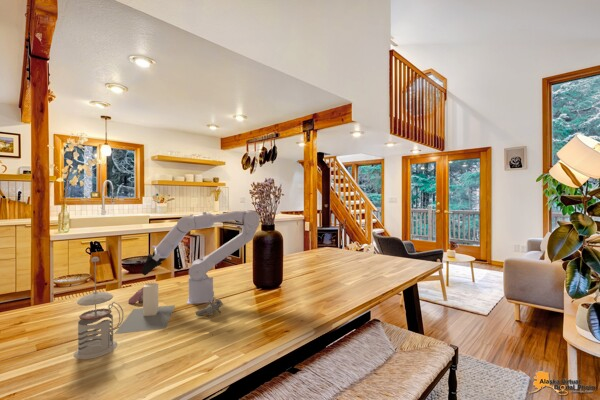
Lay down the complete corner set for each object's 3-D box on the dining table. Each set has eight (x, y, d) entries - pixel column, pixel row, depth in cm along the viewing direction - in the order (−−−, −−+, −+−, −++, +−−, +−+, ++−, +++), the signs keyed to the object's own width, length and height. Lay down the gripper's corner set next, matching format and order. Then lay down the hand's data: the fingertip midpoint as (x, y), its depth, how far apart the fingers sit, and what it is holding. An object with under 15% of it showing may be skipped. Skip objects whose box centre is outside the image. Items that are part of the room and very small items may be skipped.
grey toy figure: (201, 311, 106) (225, 301, 107) (203, 327, 102) (228, 317, 103) (189, 301, 98) (215, 291, 99) (190, 318, 95) (217, 307, 95)
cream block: (158, 310, 105) (158, 282, 105) (156, 314, 101) (155, 286, 101) (146, 311, 104) (145, 283, 104) (143, 316, 100) (142, 286, 100)
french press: (88, 341, 84) (87, 253, 84) (130, 339, 85) (130, 252, 85) (63, 360, 74) (62, 261, 74) (112, 358, 75) (111, 260, 75)
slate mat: (175, 306, 110) (175, 305, 110) (165, 329, 91) (165, 328, 91) (133, 310, 107) (133, 309, 107) (114, 335, 87) (114, 333, 87)
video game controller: (135, 309, 112) (142, 293, 111) (126, 303, 113) (133, 287, 112) (153, 300, 121) (160, 285, 121) (144, 294, 122) (151, 280, 122)
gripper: (164, 234, 120) (141, 261, 118) (157, 238, 106) (130, 269, 103) (179, 244, 121) (156, 271, 119) (173, 250, 107) (147, 281, 105)
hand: (145, 271), depth 111 cm, fingers open, 7 cm apart
